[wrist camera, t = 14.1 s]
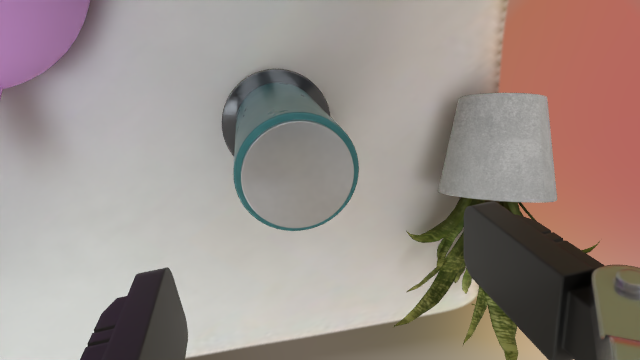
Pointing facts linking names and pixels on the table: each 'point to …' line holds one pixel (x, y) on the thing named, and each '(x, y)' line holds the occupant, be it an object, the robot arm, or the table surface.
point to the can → (291, 159)
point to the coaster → (256, 81)
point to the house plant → (489, 188)
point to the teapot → (36, 36)
